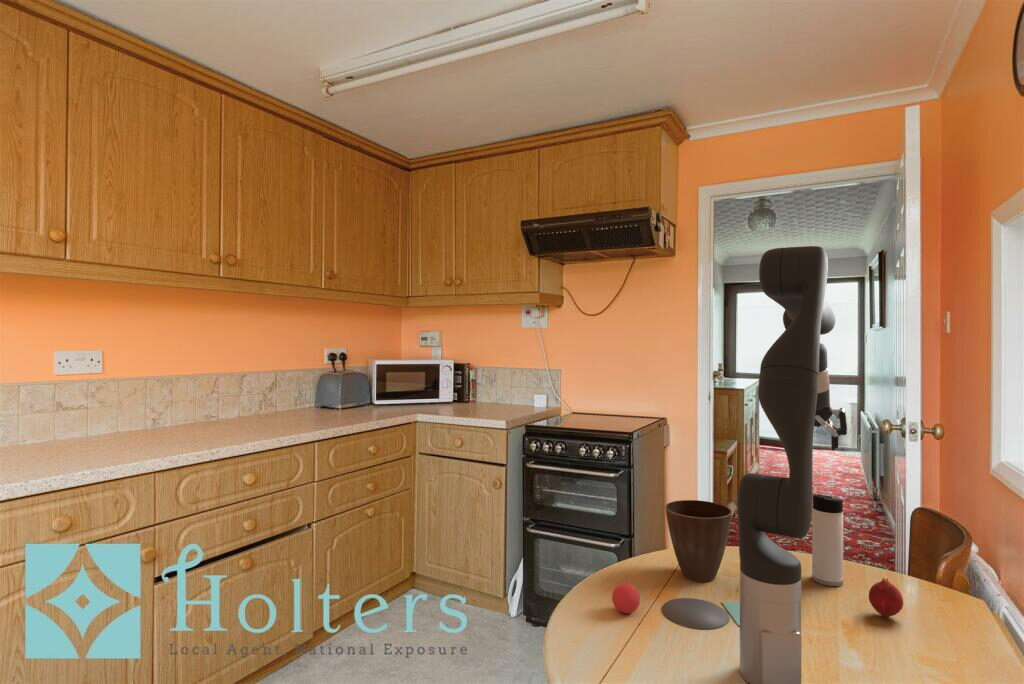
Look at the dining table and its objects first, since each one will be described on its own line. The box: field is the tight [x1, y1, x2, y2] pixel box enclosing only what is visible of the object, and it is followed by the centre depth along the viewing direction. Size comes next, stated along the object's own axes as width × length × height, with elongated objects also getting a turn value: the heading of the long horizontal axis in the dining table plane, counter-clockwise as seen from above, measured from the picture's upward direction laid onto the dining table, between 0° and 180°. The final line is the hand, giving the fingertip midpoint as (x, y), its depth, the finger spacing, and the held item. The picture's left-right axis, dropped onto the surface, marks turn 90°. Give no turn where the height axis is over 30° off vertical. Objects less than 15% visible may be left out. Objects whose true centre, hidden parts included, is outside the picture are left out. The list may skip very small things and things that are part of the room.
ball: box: [611, 583, 641, 614], centre depth 117 cm, size 6×6×6 cm
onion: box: [868, 576, 904, 618], centre depth 115 cm, size 6×6×8 cm
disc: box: [661, 597, 730, 630], centre depth 116 cm, size 13×13×1 cm
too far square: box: [721, 601, 740, 627], centre depth 116 cm, size 10×10×1 cm
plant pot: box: [664, 499, 733, 583], centre depth 135 cm, size 15×15×16 cm
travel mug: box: [811, 493, 844, 587], centre depth 132 cm, size 6×7×20 cm
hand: (813, 447), depth 139 cm, fingers open, 8 cm apart
